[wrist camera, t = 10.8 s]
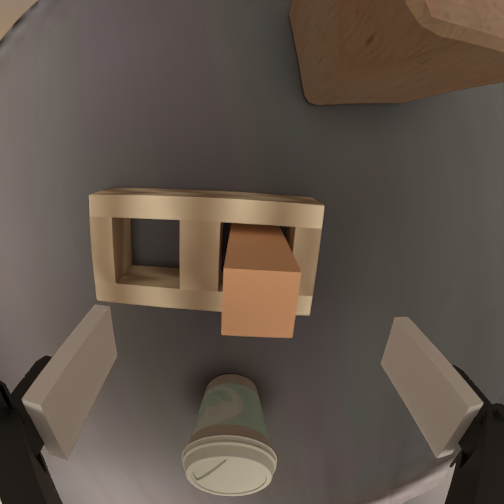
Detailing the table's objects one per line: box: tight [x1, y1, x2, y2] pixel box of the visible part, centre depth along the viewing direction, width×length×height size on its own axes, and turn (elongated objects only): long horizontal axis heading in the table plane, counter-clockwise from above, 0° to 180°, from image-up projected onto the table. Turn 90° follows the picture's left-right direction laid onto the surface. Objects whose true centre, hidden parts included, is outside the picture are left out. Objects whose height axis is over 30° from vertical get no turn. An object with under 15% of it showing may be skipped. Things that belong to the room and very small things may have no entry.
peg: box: [221, 223, 301, 338], centre depth 23 cm, size 4×4×12 cm
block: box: [289, 0, 504, 105], centre depth 14 cm, size 10×10×20 cm
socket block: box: [89, 188, 324, 315], centre depth 26 cm, size 18×9×4 cm, turn 86°
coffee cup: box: [182, 374, 277, 496], centre depth 28 cm, size 8×9×12 cm
